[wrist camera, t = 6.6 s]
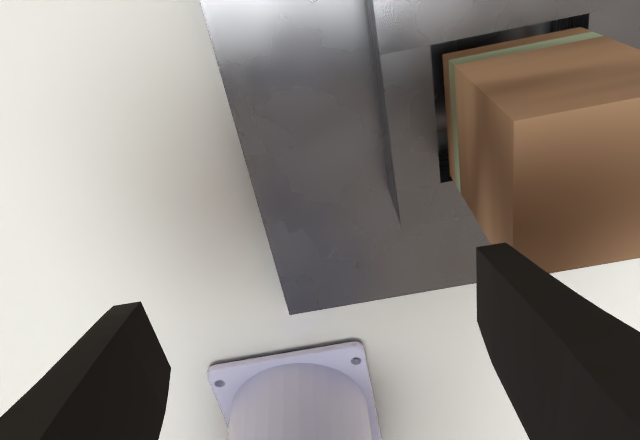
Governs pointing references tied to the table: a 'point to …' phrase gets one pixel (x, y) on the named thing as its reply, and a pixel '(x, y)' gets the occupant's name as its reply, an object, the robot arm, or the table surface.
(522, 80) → the walnut post
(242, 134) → the dark grey stepped base
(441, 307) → the table surface
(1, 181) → the table surface
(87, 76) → the table surface
